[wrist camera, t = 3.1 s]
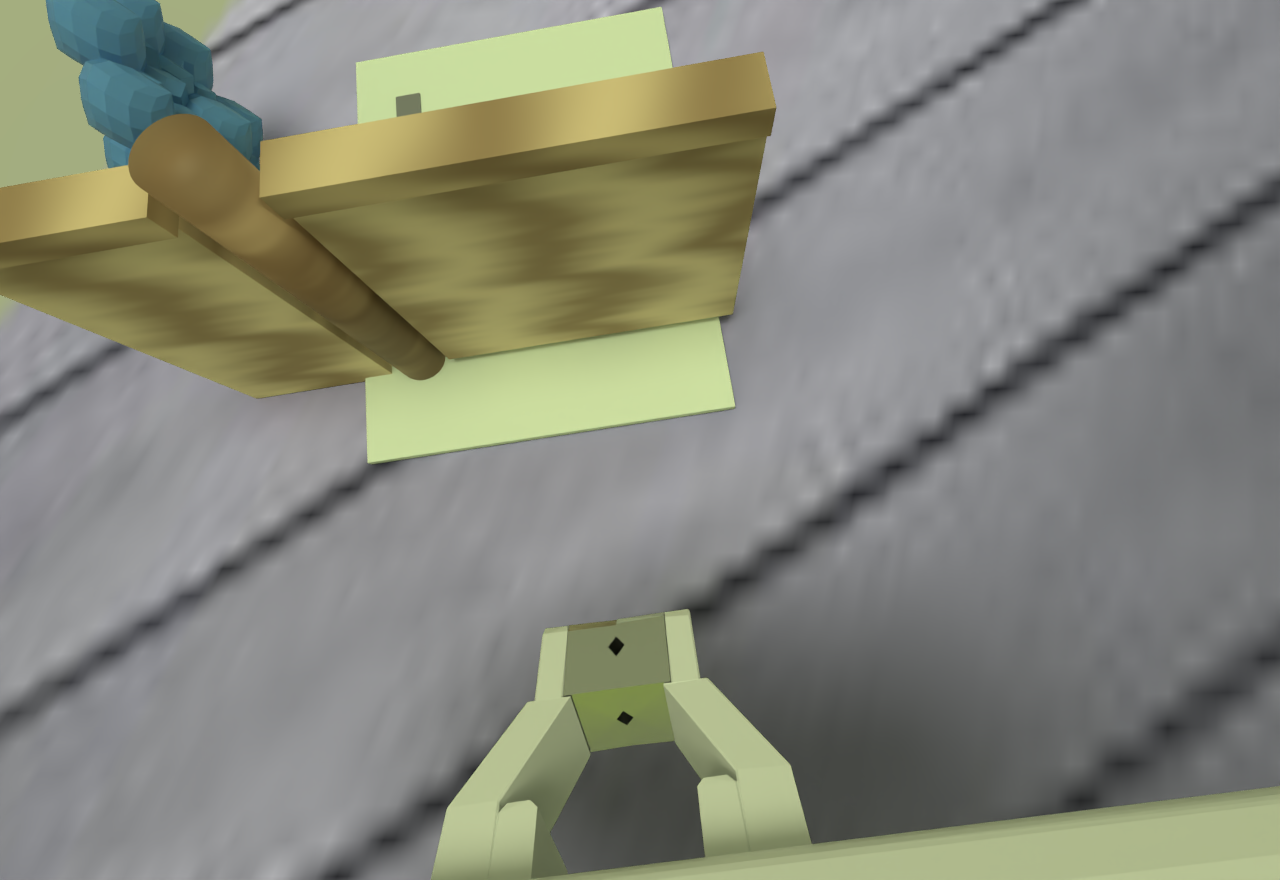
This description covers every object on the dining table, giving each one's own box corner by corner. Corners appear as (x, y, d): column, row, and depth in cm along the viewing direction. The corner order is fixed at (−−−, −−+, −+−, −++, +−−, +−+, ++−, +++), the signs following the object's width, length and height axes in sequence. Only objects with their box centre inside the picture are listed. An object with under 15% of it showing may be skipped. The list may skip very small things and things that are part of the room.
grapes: (195, 163, 33) (-69, -58, 22) (304, 121, 33) (101, -121, 22) (234, 336, 31) (-43, 191, 19) (353, 290, 31) (151, 117, 19)
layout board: (661, 13, 33) (661, 5, 33) (734, 408, 28) (735, 405, 27) (359, 68, 34) (355, 61, 33) (372, 464, 28) (366, 462, 28)
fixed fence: (447, 335, 30) (218, 106, 15) (450, 378, 29) (216, 185, 14) (257, 365, 30) (-146, 172, 15) (256, 409, 29) (-161, 251, 15)
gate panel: (727, 286, 28) (763, 51, 15) (733, 319, 28) (776, 107, 15) (447, 331, 29) (260, 141, 16) (449, 365, 28) (259, 197, 16)
